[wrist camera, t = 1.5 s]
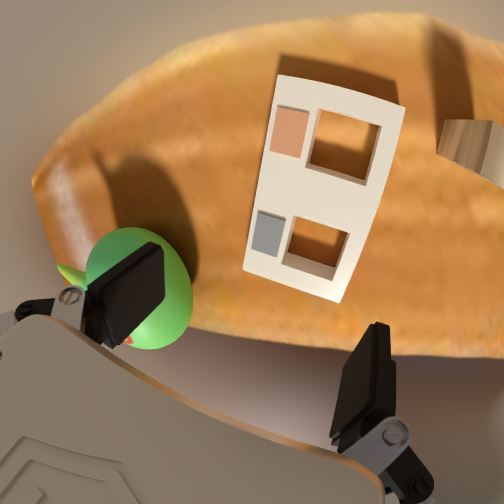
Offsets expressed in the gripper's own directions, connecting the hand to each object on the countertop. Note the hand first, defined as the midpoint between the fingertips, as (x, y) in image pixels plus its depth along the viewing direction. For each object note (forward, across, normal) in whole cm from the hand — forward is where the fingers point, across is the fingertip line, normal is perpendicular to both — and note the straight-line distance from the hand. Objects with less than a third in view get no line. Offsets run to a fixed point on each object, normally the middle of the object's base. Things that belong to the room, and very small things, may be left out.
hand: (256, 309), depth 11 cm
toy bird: (+20, +20, +18) cm, 34 cm away
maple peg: (+20, -13, -10) cm, 26 cm away
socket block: (+20, 0, 0) cm, 20 cm away
